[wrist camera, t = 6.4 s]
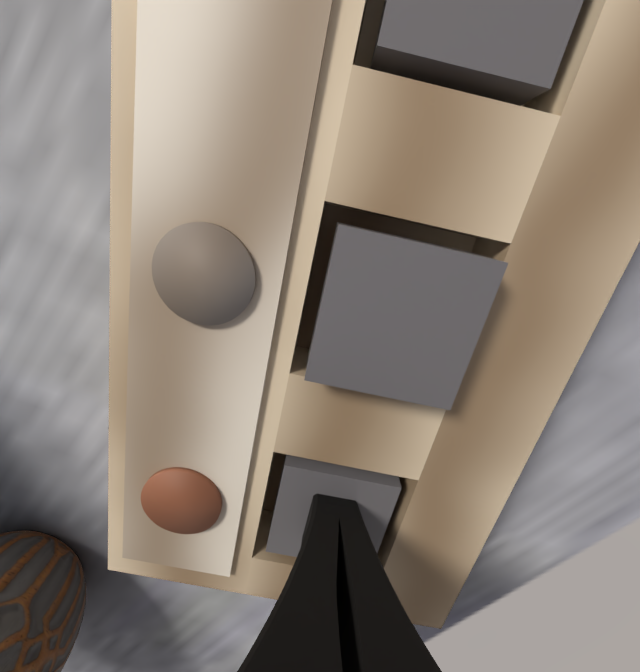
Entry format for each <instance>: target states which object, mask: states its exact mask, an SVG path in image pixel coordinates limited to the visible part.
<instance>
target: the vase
mask: <svg viewBox="0 0 640 672" xmlns="http://www.w3.org/2000/svg"><path fill="white" fill-rule="evenodd" d="M85 605H86V583H85V578H84V573H83V569H82V565H81V563H80V560H79V558H78V557H77V555H76V554H75V553H74V552H73V550H72V549H71V548H70V547H68V546H67V545H66V544H65V543H63V542H62V541H60V540H58V539H57V538H55V537H52V536H50V535H47V534H44V533H41V532H36V531H12V532H6V533H0V672H61V670H62V669H63V667H64V665H65V663H66V661H67V659H68V657H69V655H70V653H71V650H72V648H73V645H74V643H75V640H76V638H77V635H78V632H79V629H80V626H81V623H82V619H83V615H84V610H85Z"/></svg>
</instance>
